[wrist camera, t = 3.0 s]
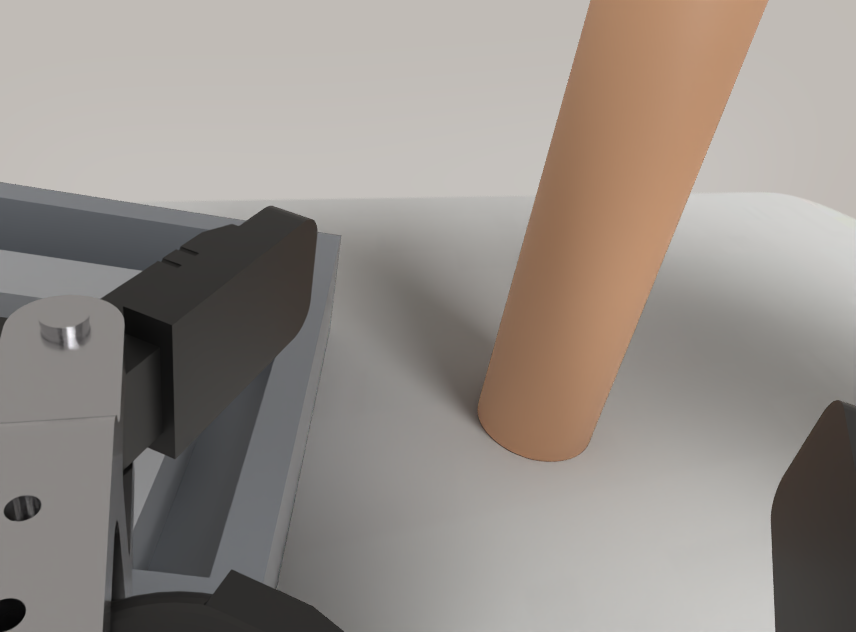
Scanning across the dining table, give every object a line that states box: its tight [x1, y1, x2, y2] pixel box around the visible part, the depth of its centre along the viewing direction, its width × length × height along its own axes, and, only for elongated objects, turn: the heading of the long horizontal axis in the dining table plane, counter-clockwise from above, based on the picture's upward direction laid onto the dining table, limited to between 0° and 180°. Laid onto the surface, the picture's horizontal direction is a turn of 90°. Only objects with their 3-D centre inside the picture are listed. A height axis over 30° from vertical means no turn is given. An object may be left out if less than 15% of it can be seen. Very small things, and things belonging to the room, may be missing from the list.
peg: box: [477, 0, 768, 461], centre depth 21 cm, size 4×4×17 cm
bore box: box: [0, 182, 341, 596], centre depth 20 cm, size 16×15×4 cm
